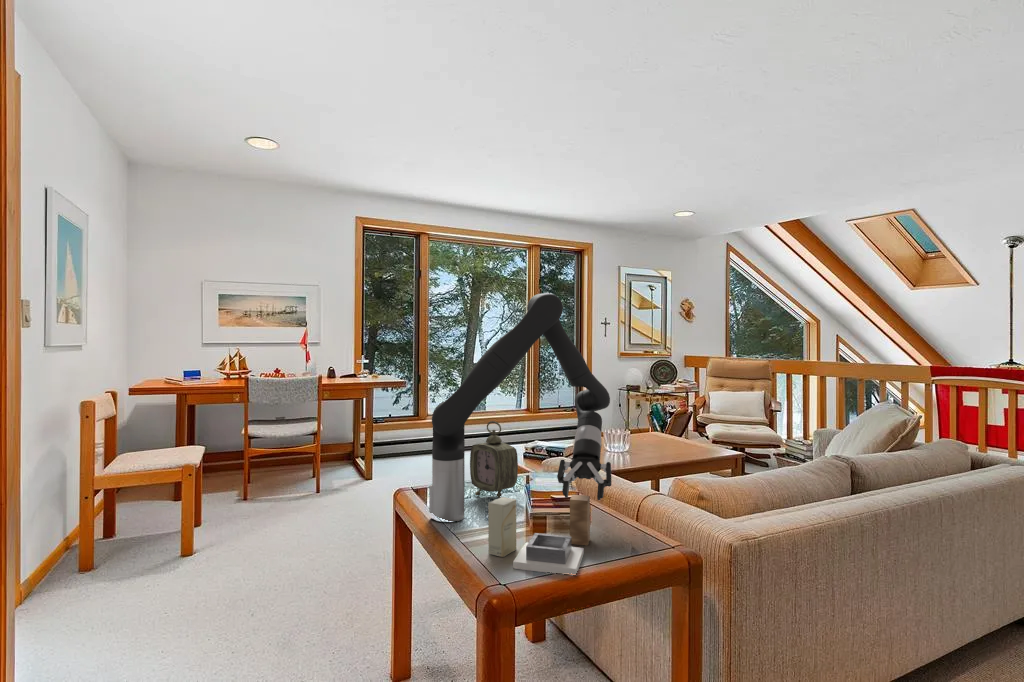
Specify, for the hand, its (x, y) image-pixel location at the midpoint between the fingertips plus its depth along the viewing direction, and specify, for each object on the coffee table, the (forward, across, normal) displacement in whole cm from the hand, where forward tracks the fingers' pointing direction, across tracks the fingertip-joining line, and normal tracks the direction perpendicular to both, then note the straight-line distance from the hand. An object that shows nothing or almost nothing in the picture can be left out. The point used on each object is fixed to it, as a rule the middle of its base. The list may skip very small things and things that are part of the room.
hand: (582, 497), depth 135 cm
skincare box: (+18, -17, -4) cm, 25 cm away
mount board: (+20, -5, -6) cm, 21 cm away
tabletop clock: (-11, -32, +26) cm, 42 cm away
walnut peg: (+10, 0, +4) cm, 11 cm away
